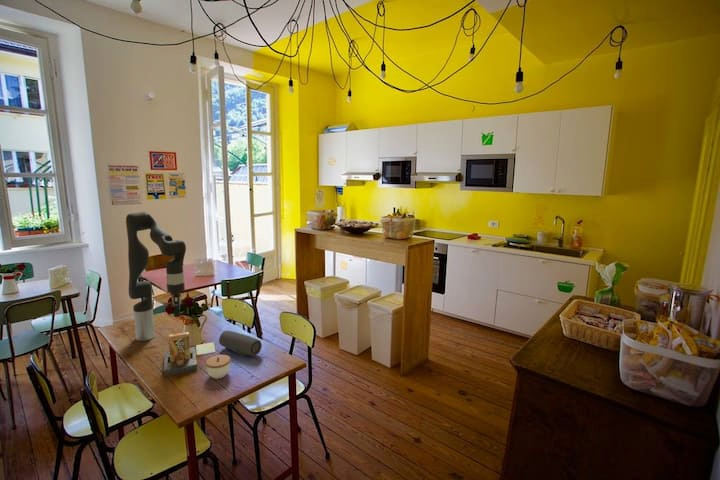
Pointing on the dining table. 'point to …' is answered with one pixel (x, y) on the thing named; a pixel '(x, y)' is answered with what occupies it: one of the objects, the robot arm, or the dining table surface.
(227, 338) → the bluetooth speaker
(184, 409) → the dining table surface
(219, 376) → the lidded jar
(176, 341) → the candy box
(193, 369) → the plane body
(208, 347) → the felt pad
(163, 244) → the robot arm
